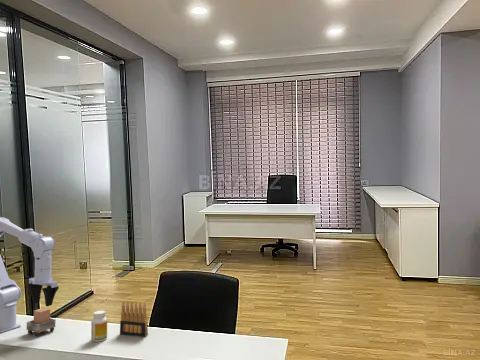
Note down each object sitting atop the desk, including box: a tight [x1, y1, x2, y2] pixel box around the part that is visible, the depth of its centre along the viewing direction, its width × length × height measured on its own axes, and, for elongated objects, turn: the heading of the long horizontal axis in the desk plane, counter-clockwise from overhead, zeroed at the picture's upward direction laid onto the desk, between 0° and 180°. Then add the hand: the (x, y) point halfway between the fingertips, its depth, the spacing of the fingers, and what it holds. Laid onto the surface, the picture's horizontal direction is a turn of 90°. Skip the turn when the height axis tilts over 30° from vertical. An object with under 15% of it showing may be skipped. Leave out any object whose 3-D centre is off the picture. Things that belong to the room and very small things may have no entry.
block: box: [33, 307, 51, 324], centre depth 144 cm, size 4×4×6 cm
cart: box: [26, 317, 56, 337], centre depth 144 cm, size 7×7×4 cm
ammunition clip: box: [119, 301, 149, 338], centre depth 142 cm, size 11×2×12 cm, turn 76°
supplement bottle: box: [90, 310, 108, 343], centre depth 137 cm, size 5×5×10 cm
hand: (42, 304), depth 145 cm, fingers open, 7 cm apart
